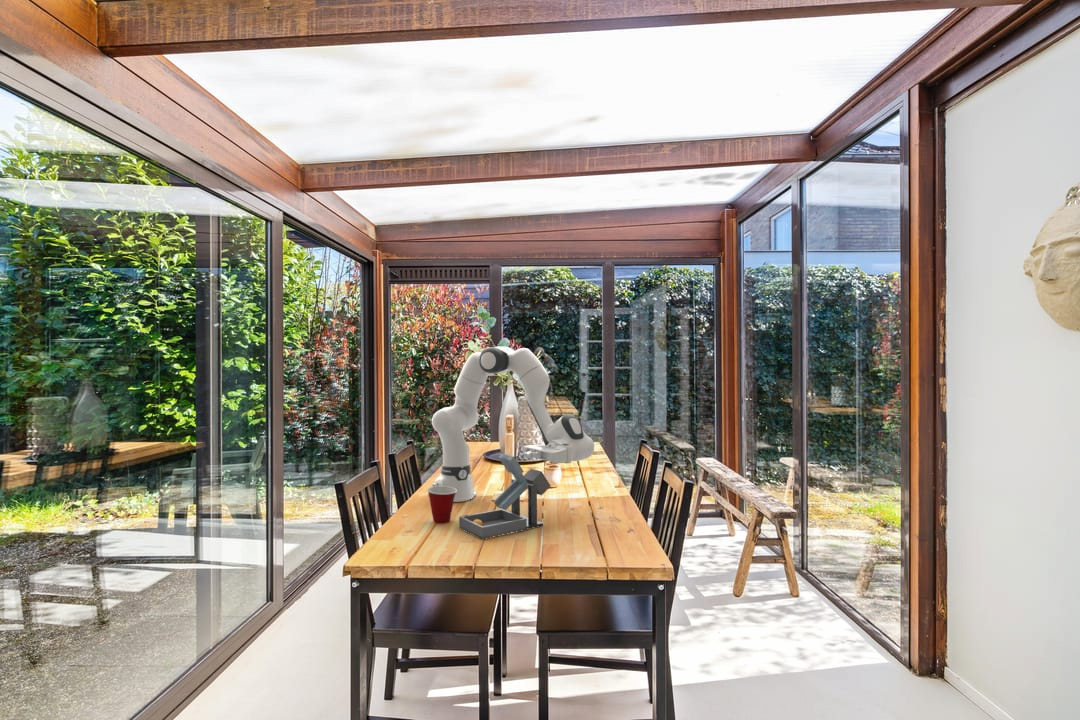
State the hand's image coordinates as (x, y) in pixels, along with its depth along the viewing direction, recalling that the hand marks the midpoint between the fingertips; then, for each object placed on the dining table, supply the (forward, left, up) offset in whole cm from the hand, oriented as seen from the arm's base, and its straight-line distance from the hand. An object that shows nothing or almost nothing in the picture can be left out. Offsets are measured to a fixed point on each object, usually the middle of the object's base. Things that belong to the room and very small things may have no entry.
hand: (526, 455), depth 212 cm
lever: (0, +1, -17) cm, 17 cm away
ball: (0, -20, -22) cm, 30 cm away
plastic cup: (-19, -24, -24) cm, 39 cm away
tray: (0, -14, -24) cm, 28 cm away
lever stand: (0, -1, -24) cm, 24 cm away
